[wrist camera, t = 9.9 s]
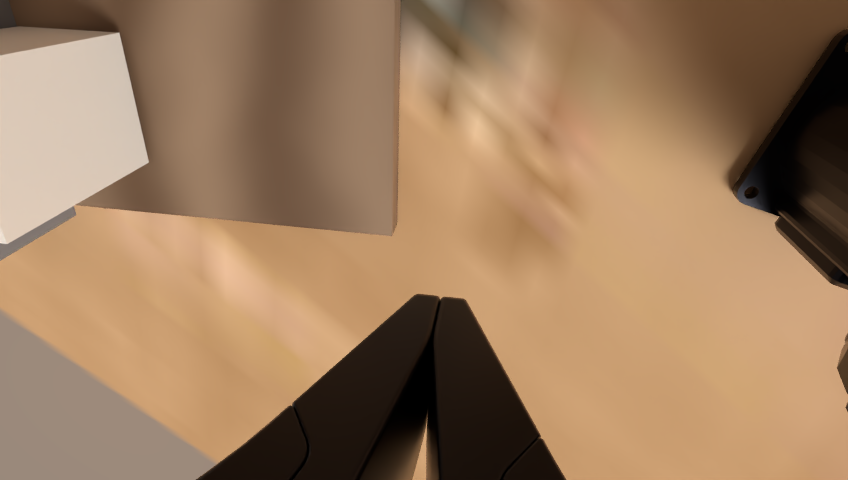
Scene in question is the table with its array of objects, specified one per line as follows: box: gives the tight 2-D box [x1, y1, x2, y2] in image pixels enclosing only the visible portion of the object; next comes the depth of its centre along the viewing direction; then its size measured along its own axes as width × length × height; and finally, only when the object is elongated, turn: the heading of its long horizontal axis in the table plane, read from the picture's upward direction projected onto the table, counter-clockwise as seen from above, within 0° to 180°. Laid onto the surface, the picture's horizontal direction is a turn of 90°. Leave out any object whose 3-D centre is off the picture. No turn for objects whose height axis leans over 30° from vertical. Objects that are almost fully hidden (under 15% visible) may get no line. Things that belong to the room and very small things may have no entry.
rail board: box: [9, 0, 401, 236], centre depth 21 cm, size 20×10×1 cm, turn 88°
